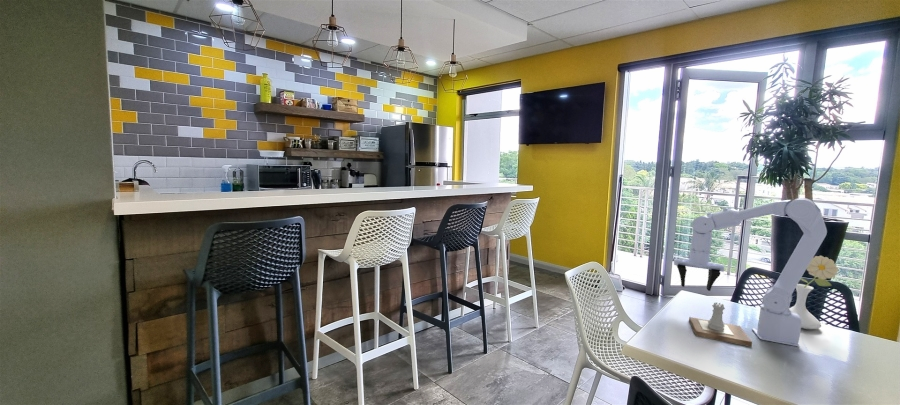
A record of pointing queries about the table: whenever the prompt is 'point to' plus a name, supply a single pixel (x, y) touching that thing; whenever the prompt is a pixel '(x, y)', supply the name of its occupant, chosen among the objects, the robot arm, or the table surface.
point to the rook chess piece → (717, 318)
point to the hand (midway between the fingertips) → (695, 287)
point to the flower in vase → (819, 269)
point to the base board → (720, 332)
